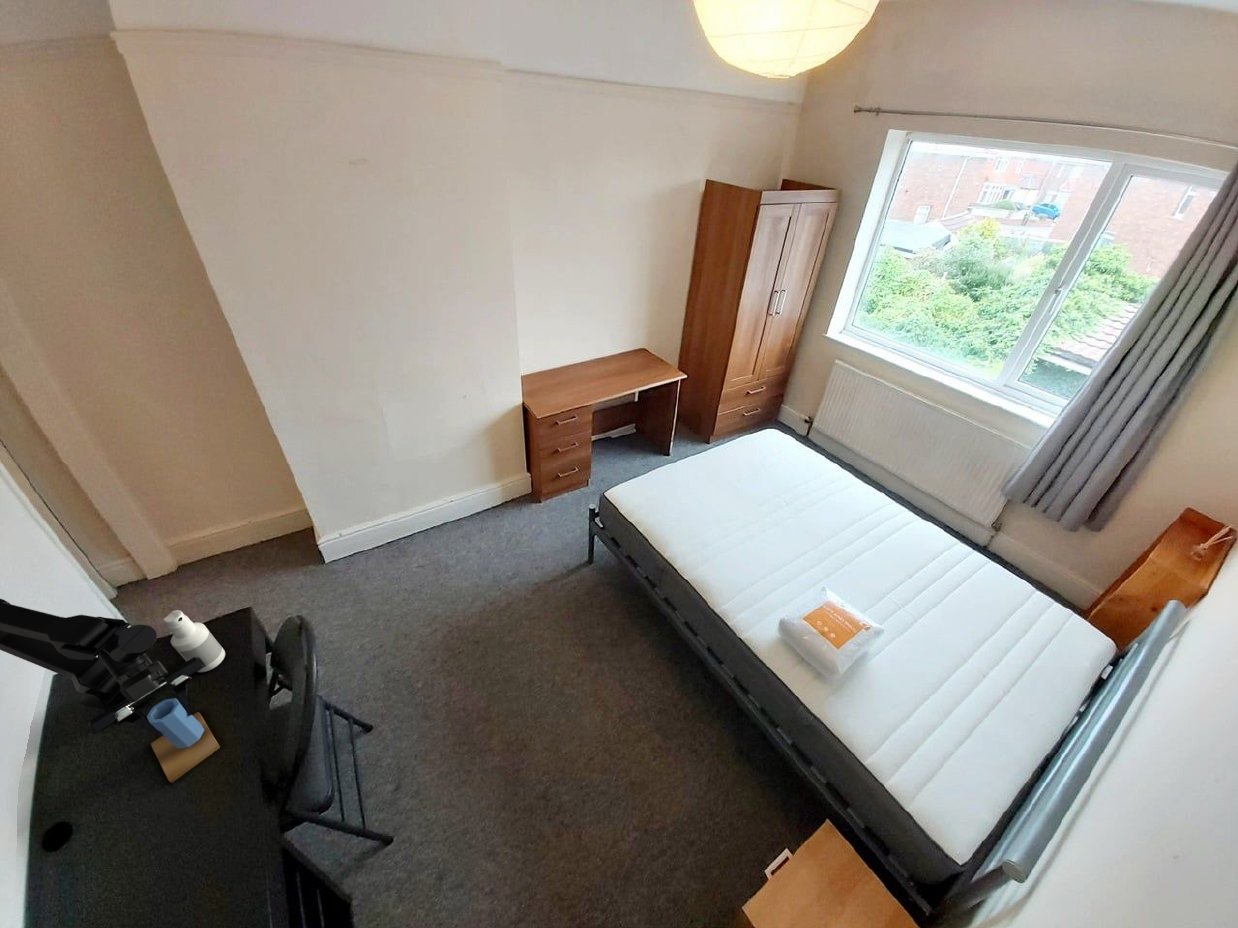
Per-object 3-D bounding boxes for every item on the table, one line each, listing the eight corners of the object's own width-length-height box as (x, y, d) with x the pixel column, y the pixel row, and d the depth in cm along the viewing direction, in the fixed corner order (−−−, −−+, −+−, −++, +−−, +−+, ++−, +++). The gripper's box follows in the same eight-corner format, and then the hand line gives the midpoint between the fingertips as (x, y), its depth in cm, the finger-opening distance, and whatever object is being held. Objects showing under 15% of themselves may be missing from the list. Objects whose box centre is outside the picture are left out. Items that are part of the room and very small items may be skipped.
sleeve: (172, 738, 108) (144, 712, 102) (198, 720, 111) (173, 693, 105) (180, 753, 106) (152, 727, 99) (207, 734, 109) (181, 708, 102)
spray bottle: (209, 675, 122) (171, 630, 112) (186, 670, 124) (146, 625, 113) (232, 651, 128) (197, 606, 117) (210, 646, 129) (173, 601, 119)
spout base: (153, 746, 109) (142, 736, 106) (200, 714, 115) (191, 704, 112) (171, 783, 103) (160, 774, 100) (220, 747, 109) (211, 737, 106)
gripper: (58, 701, 91) (110, 768, 92) (178, 632, 103) (224, 692, 104) (75, 699, 99) (123, 760, 100) (184, 635, 111) (226, 691, 112)
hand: (176, 725), depth 104 cm, fingers closed on sleeve, 5 cm apart
